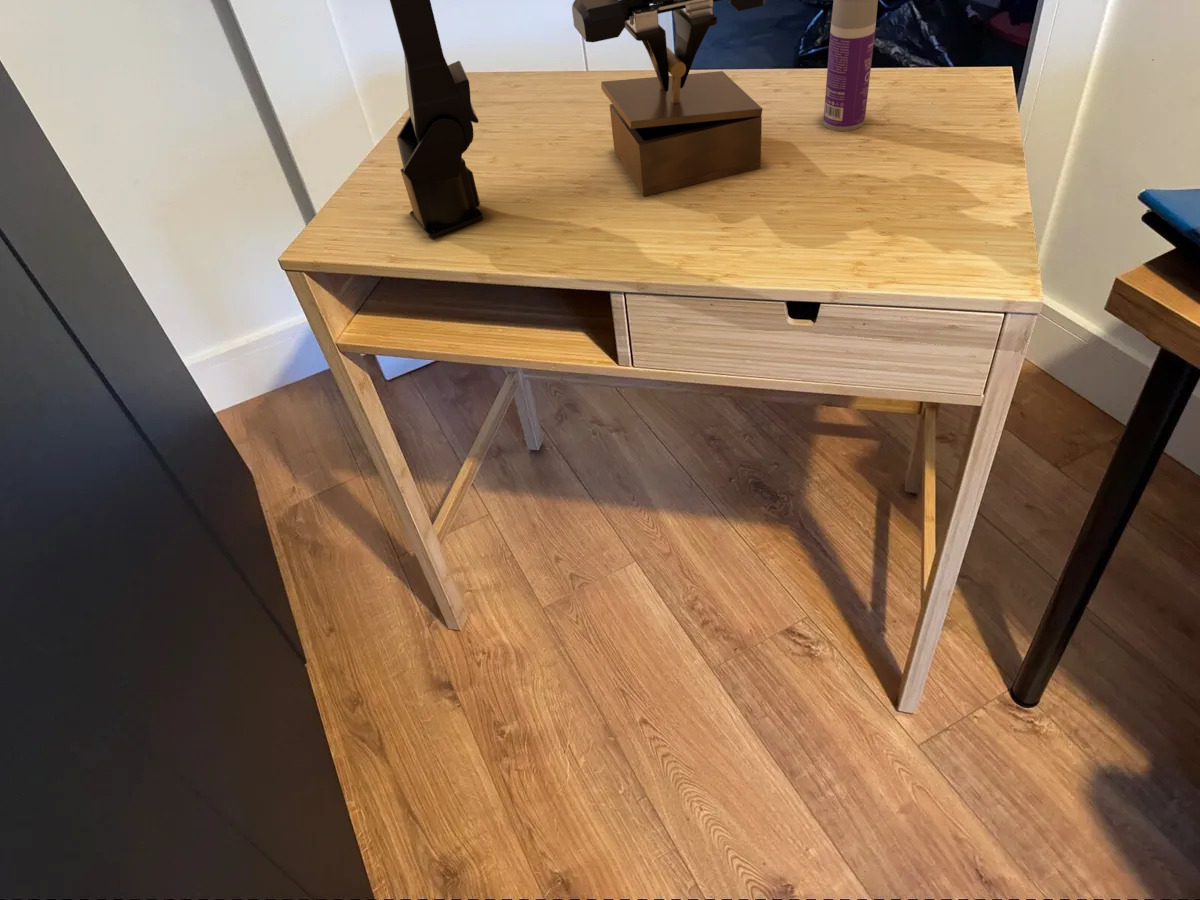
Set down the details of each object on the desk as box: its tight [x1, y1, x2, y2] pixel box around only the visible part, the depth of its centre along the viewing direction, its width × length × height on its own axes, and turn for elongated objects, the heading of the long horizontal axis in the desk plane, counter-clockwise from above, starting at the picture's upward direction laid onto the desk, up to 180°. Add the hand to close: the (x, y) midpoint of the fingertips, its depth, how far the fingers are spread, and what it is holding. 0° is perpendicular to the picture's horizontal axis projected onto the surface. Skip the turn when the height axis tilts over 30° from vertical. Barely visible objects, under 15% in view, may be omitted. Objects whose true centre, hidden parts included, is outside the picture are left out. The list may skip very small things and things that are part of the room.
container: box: [822, 0, 879, 132], centre depth 91 cm, size 5×5×15 cm
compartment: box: [609, 103, 763, 197], centre depth 92 cm, size 14×12×6 cm
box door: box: [600, 47, 763, 129], centre depth 87 cm, size 14×12×5 cm
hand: (672, 88), depth 88 cm, fingers closed on box door
